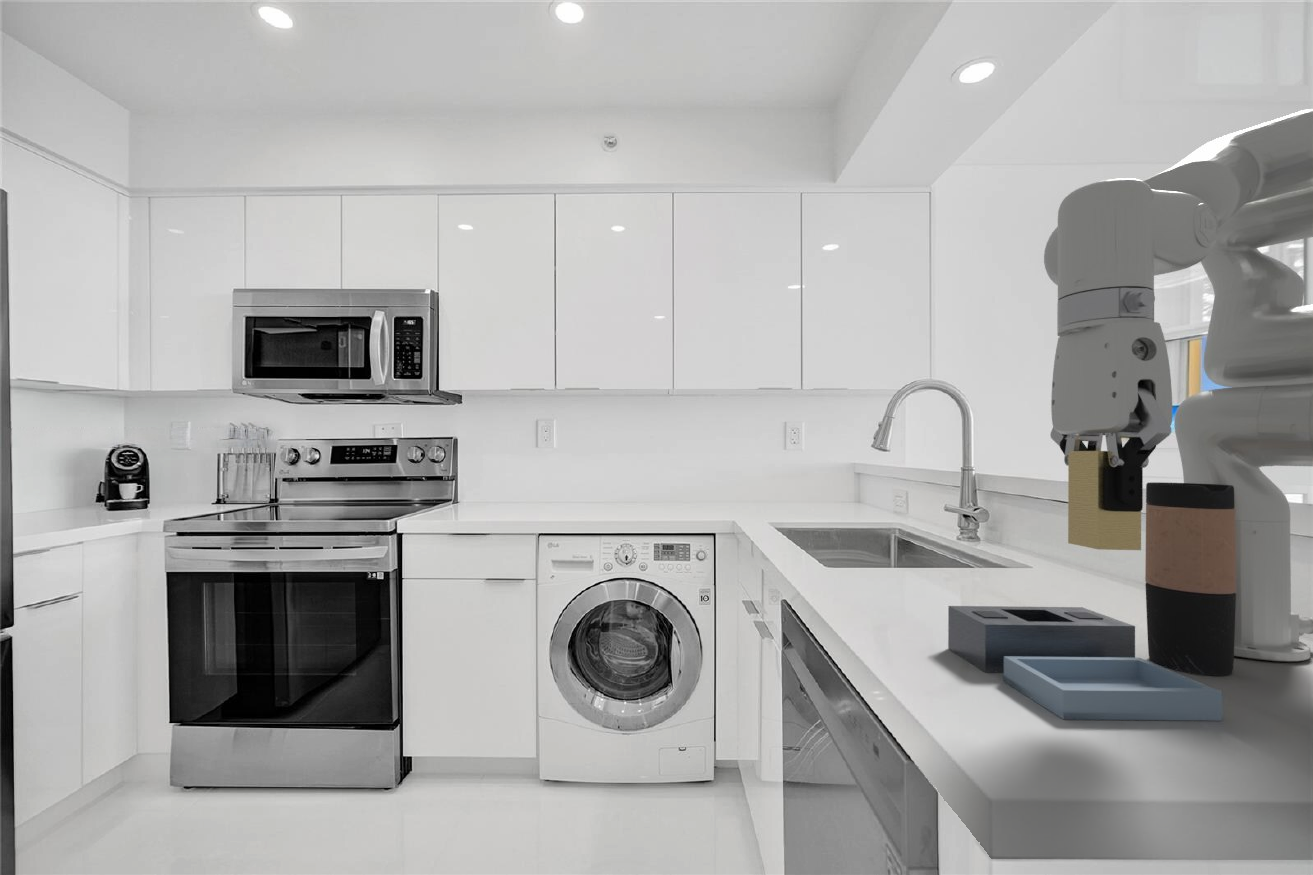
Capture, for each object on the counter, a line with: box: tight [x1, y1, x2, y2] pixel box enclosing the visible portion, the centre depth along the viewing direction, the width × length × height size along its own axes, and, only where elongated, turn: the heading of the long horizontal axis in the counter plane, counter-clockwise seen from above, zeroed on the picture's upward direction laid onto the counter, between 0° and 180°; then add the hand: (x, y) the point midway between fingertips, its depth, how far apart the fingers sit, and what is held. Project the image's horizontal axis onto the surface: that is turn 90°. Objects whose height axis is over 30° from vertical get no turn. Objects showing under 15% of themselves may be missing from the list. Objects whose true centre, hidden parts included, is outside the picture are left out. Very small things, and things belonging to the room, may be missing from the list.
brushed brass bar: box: [1067, 450, 1142, 551], centre depth 59 cm, size 4×4×9 cm
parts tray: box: [1003, 656, 1223, 722], centre depth 59 cm, size 14×9×2 cm, turn 91°
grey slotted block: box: [947, 605, 1136, 674], centre depth 70 cm, size 16×8×5 cm, turn 91°
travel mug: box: [1144, 481, 1236, 677], centre depth 69 cm, size 8×8×20 cm
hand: (1103, 506), depth 59 cm, fingers closed on brushed brass bar, 4 cm apart
